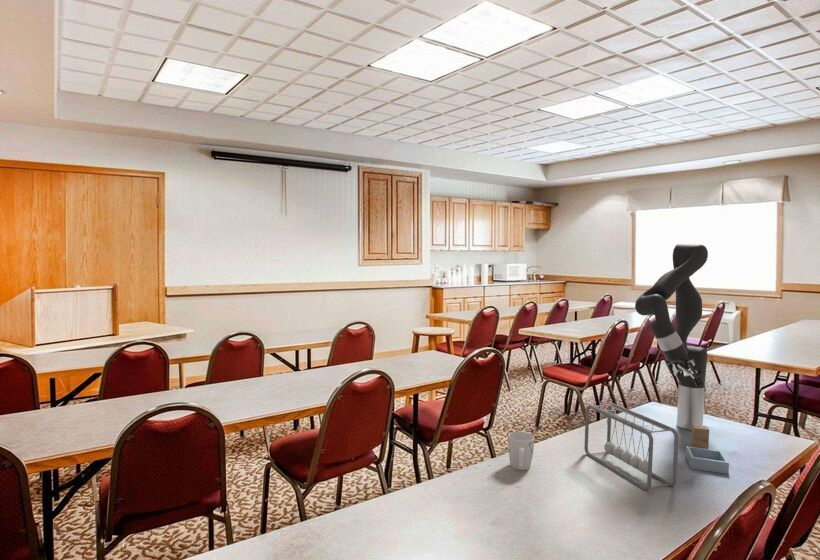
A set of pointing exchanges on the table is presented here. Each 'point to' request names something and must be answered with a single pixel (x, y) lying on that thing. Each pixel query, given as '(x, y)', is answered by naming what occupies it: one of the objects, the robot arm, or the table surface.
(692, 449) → the tray
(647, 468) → the newton's cradle
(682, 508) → the table surface
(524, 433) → the mug
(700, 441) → the block
